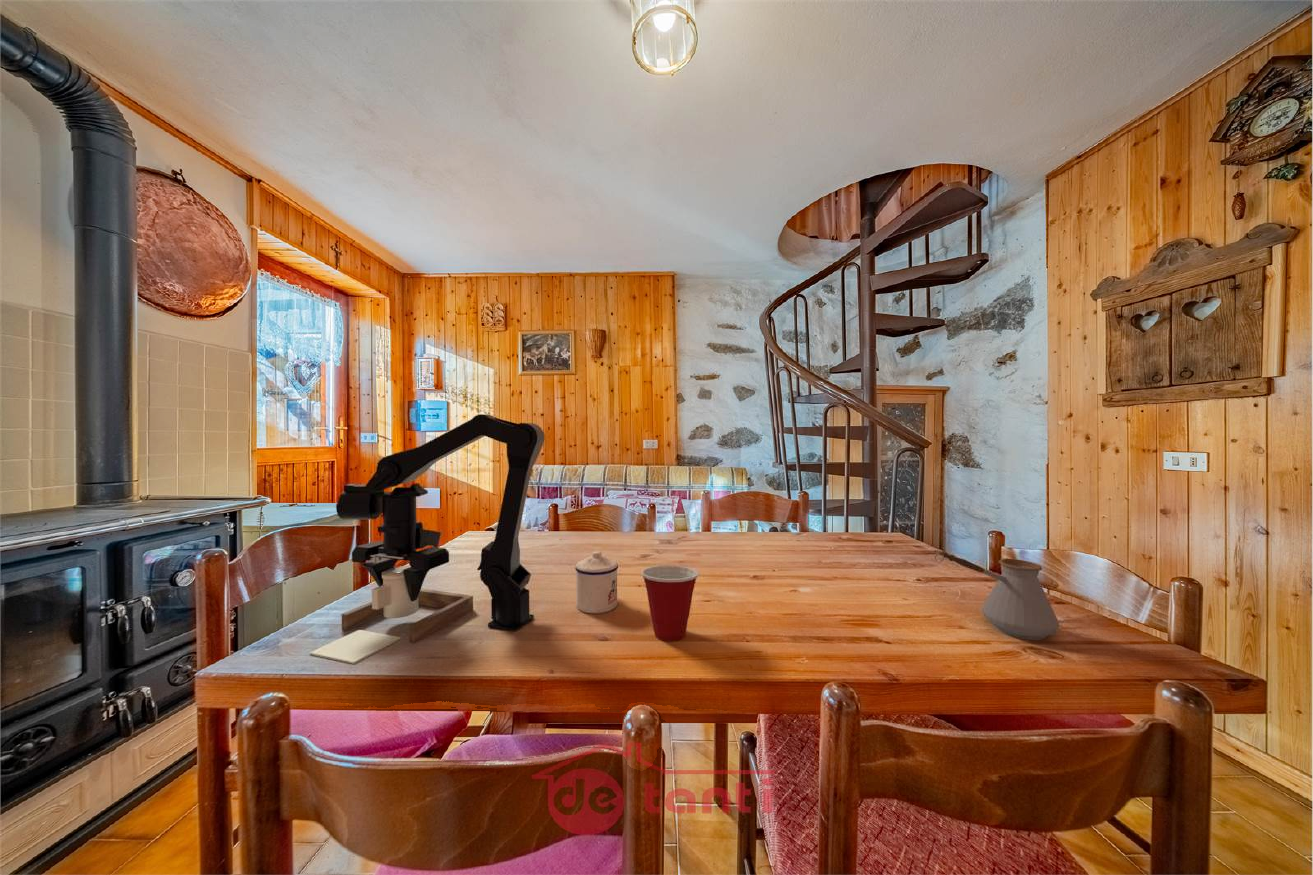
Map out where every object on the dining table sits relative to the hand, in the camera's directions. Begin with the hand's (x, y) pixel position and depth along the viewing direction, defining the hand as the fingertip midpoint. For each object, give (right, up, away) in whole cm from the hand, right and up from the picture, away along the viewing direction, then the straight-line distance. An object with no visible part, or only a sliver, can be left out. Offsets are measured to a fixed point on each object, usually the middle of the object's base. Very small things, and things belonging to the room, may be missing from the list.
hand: (401, 598), depth 88 cm
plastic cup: (+52, -5, -4) cm, 53 cm away
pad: (-3, -5, -9) cm, 11 cm away
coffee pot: (+114, -5, -2) cm, 114 cm away
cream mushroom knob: (0, -3, -1) cm, 3 cm away
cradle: (+1, -5, +2) cm, 5 cm away
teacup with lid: (+37, -5, +11) cm, 39 cm away
